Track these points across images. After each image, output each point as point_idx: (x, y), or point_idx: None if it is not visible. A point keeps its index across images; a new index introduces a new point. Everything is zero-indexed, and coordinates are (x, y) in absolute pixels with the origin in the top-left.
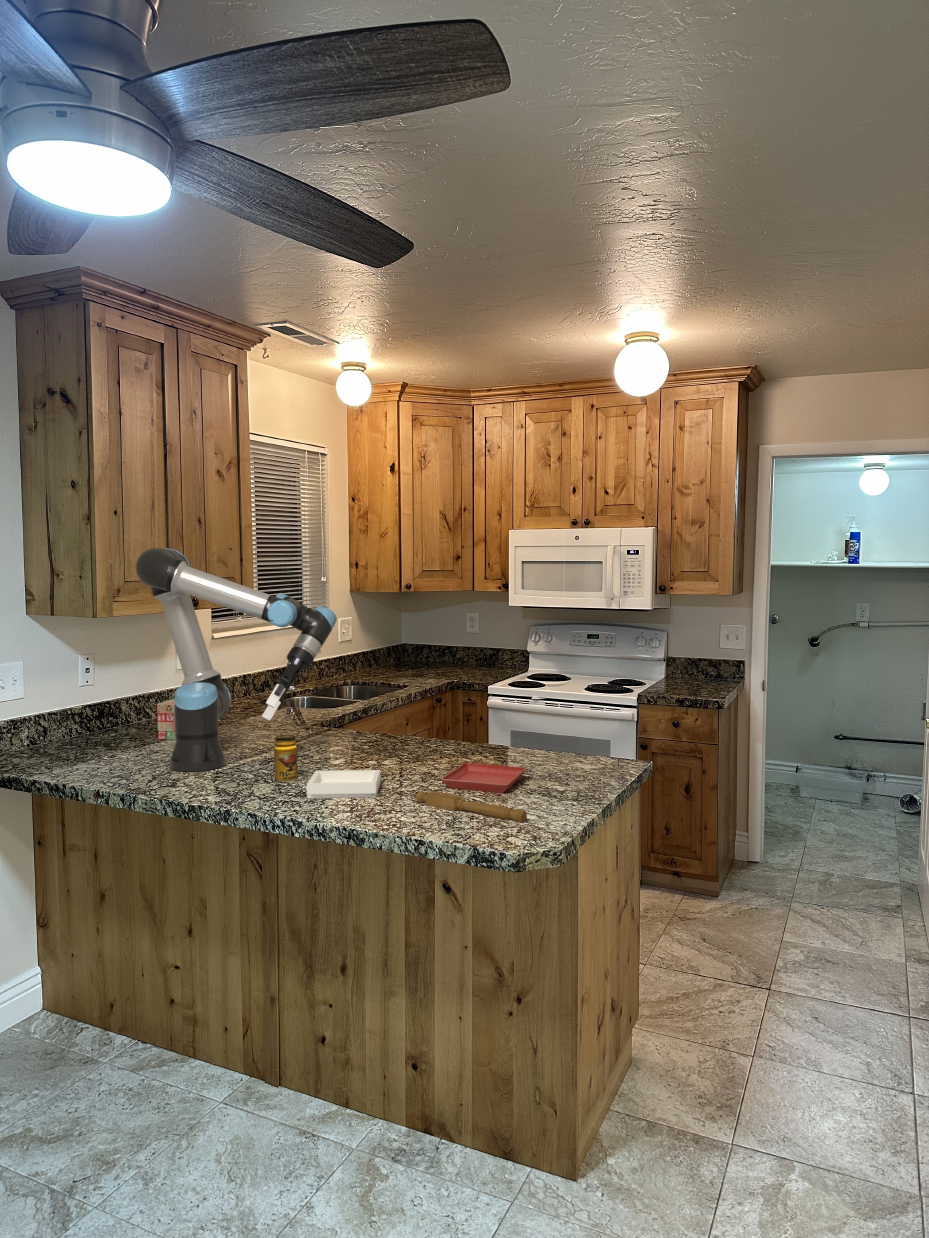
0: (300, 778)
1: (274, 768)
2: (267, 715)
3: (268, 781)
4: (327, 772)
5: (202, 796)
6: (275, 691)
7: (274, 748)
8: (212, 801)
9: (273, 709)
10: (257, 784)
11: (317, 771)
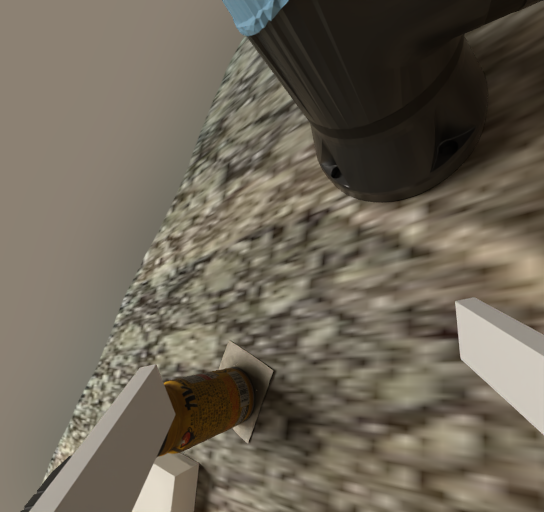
0: (236, 431)
1: (212, 371)
2: (475, 343)
3: (225, 353)
4: (165, 504)
5: (172, 252)
6: (53, 474)
7: (167, 381)
8: (151, 276)
9: (535, 406)
10: (214, 331)
11: (168, 479)
